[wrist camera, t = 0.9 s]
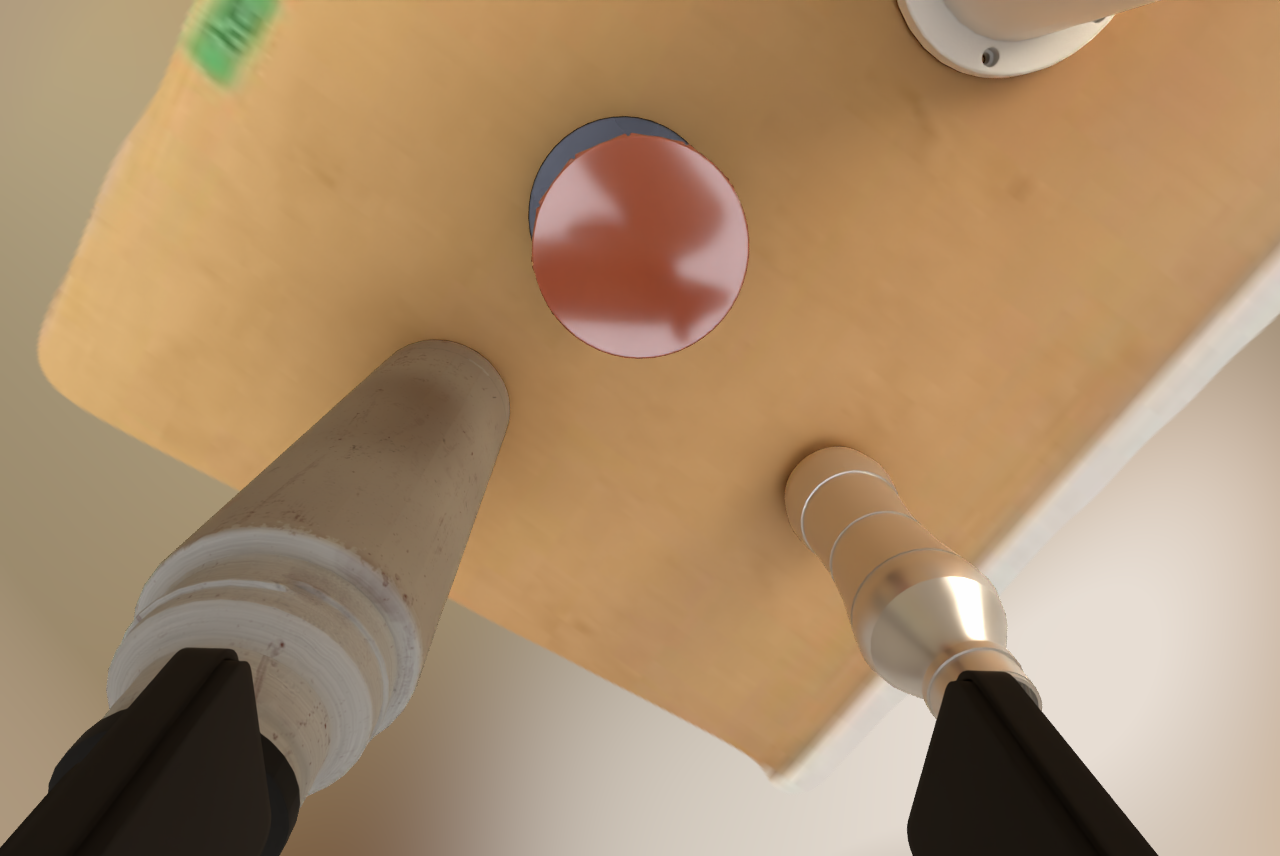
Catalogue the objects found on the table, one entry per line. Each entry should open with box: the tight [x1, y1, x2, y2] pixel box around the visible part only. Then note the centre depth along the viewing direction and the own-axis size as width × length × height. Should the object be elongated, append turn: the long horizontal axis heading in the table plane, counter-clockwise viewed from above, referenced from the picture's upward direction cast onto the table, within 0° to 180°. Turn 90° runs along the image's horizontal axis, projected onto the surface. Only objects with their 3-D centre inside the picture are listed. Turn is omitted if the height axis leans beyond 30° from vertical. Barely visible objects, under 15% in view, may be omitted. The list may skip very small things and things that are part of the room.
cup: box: [531, 133, 749, 359], centre depth 27 cm, size 7×7×9 cm
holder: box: [528, 116, 689, 239], centre depth 30 cm, size 10×10×16 cm
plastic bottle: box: [785, 446, 1042, 719], centre depth 35 cm, size 6×7×20 cm
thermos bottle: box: [48, 340, 510, 856], centre depth 28 cm, size 8×8×28 cm
